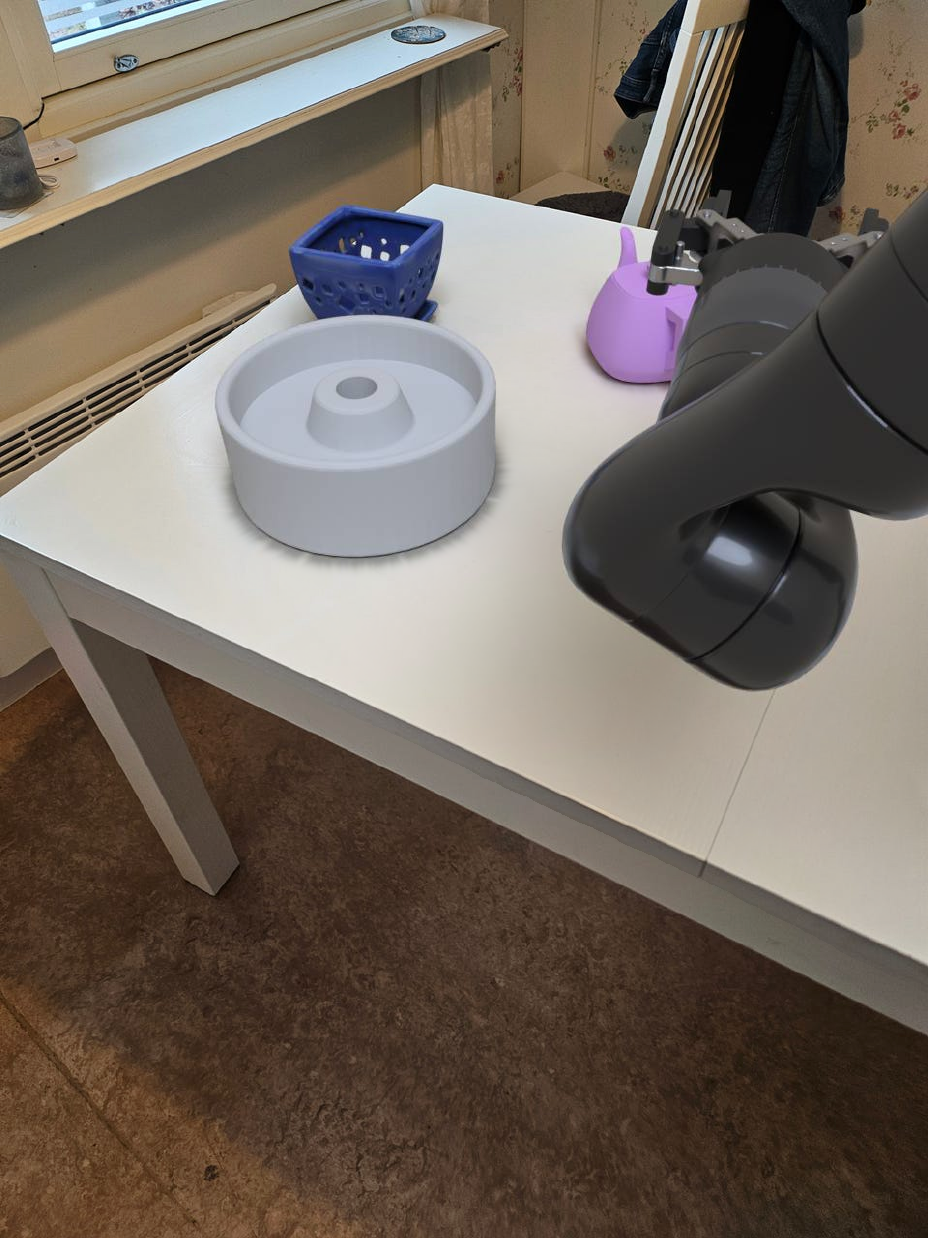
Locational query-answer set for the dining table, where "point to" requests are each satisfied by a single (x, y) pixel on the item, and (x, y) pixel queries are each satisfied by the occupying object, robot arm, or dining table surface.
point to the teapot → (637, 321)
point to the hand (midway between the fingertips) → (793, 215)
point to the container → (359, 433)
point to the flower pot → (368, 264)
